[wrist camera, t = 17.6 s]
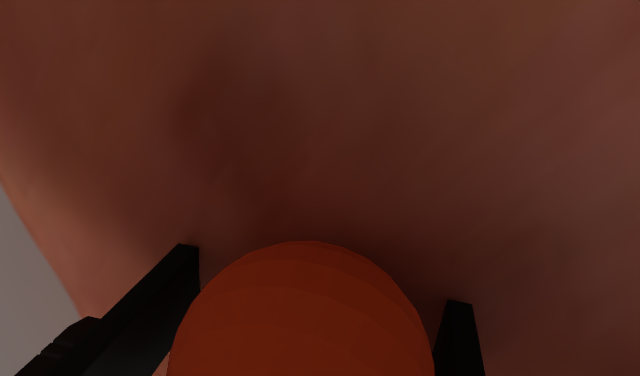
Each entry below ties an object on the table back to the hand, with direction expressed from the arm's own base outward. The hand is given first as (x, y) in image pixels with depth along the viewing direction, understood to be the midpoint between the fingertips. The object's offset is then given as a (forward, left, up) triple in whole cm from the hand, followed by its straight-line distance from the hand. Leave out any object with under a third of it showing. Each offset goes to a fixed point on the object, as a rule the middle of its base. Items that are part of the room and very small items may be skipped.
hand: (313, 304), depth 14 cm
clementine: (0, 0, 0) cm, 0 cm away
